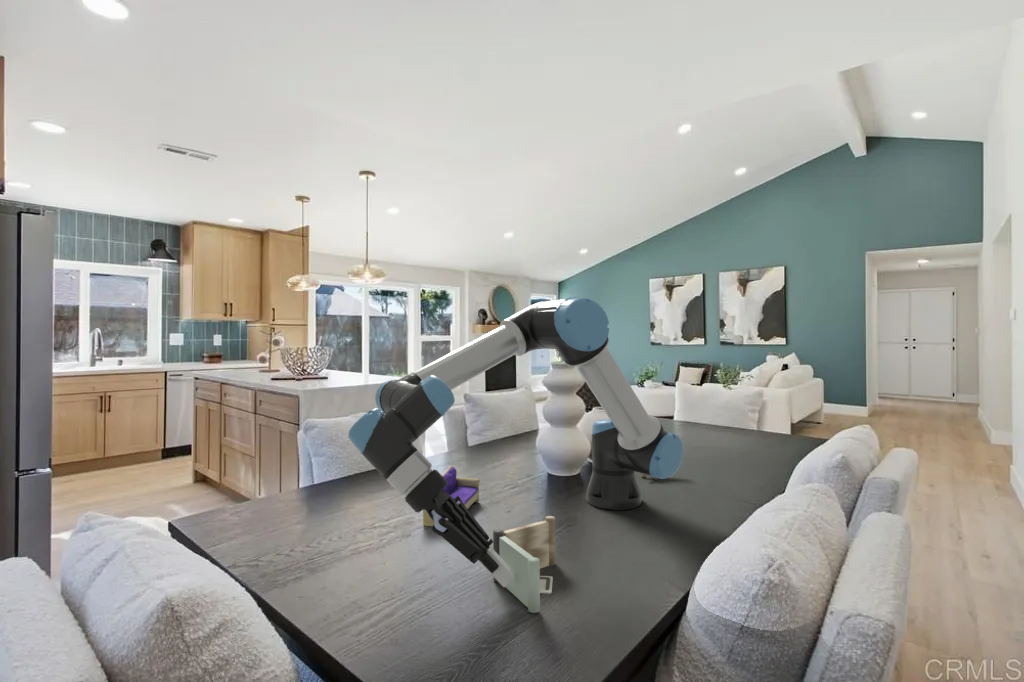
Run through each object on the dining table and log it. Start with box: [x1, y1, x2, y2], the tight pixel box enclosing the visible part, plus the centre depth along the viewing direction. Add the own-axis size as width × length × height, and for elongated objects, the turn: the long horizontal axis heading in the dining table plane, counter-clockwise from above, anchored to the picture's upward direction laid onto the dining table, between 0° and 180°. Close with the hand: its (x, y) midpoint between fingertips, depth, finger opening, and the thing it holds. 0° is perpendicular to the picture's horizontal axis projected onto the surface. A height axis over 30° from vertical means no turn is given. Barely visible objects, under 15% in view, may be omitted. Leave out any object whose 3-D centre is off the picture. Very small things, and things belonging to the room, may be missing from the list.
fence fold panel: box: [499, 536, 541, 614], centre depth 91 cm, size 12×2×8 cm, turn 29°
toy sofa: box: [422, 466, 481, 527], centre depth 134 cm, size 21×9×10 cm, turn 166°
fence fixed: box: [492, 515, 556, 584], centre depth 101 cm, size 14×2×10 cm, turn 123°
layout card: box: [540, 575, 554, 595], centre depth 96 cm, size 6×6×1 cm
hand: (509, 580), depth 90 cm, fingers closed
